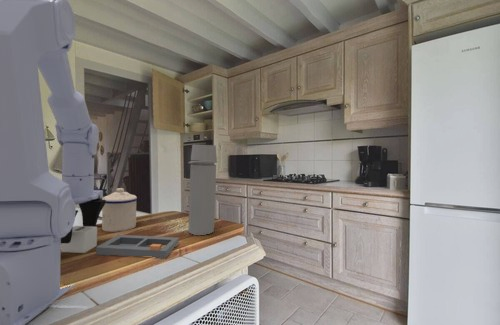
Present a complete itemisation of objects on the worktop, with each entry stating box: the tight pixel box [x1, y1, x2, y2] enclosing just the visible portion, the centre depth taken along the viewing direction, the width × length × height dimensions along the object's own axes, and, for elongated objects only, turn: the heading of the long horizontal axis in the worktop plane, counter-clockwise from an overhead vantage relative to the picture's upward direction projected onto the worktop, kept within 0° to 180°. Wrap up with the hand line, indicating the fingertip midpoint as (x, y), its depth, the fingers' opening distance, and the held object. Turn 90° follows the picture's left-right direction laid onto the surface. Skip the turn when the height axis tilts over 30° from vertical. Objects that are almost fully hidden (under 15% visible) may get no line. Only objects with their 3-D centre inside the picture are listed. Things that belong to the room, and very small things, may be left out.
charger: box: [61, 225, 98, 254], centre depth 52 cm, size 4×5×5 cm
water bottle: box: [187, 144, 218, 236], centre depth 67 cm, size 9×8×25 cm
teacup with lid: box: [97, 187, 138, 233], centre depth 68 cm, size 12×9×12 cm
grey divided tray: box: [95, 234, 180, 260], centre depth 54 cm, size 8×15×3 cm, turn 88°
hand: (77, 236), depth 52 cm, fingers open, 7 cm apart
